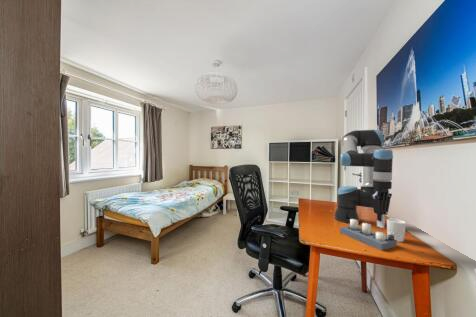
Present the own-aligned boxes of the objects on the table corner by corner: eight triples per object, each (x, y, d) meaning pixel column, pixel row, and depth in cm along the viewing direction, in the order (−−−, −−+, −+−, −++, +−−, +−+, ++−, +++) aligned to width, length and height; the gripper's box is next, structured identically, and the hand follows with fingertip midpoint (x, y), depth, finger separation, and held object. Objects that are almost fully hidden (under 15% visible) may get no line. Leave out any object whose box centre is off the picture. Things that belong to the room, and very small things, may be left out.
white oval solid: (365, 231, 105) (365, 222, 104) (372, 234, 101) (372, 225, 101) (360, 232, 103) (360, 223, 103) (367, 235, 99) (367, 225, 99)
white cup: (405, 239, 102) (406, 221, 102) (404, 244, 97) (405, 224, 97) (387, 235, 108) (387, 217, 108) (385, 239, 102) (385, 220, 102)
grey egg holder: (354, 230, 114) (354, 219, 114) (396, 246, 94) (396, 233, 94) (340, 232, 110) (340, 222, 110) (381, 250, 89) (381, 237, 89)
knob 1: (352, 227, 111) (353, 218, 111) (359, 229, 107) (359, 220, 107) (348, 227, 109) (348, 219, 109) (354, 230, 106) (355, 221, 106)
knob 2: (378, 240, 98) (378, 231, 98) (387, 244, 94) (387, 234, 94) (373, 242, 97) (373, 232, 96) (382, 245, 93) (382, 235, 93)
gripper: (382, 178, 101) (380, 222, 102) (365, 179, 96) (364, 226, 97) (398, 180, 94) (396, 227, 95) (382, 182, 89) (380, 231, 90)
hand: (380, 226), depth 96 cm, fingers closed
